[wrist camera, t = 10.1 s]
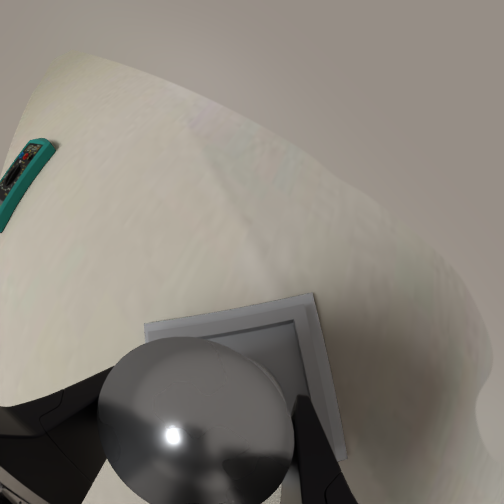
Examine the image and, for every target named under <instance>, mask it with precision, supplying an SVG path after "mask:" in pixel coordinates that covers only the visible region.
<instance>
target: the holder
mask: <svg viewBox="0 0 504 504" xmlns="http://www.w3.org/2000/svg"><path fill="white" fill-rule="evenodd" d="M144 331H145V342H146V343H148V342H150V341H154V340H158V339H161V338H168V337H194V338H202V339H206V340H209V341H213V342H216V343H219V344H222V345H224V346H227V347H229V348H231V349H233V350H235V351H237V352H238V353H240V354H242V355H244V356H246V357H248V358H250V359H252V360H254V361H256V362H257V363H259V364H261V365H263V366H264V367H266V368H267V369H268V370H269V371H271V372H272V374H273V375H274V376H275V377H276V379H277V380H278V382H279V384H280V386H281V389H282V392H283V395H284V398H285V401H286V404H287V407H288V410H289V413H290V416H291V413H292V409H293V405H294V402H295V399H296V396H297V395H298V394H302V395H308V396H309V397H310V399H311V401H312V404H313V406H314V408H315V411H316V413H317V415H318V418H319V420H320V422H321V425H322V427H323V429H324V432H325V434H326V436H327V439H328V441H329V443H330V446H331V448H332V450H333V452H334V455H335V457H336V459H337V462H338V461H342V460H345V459H348V458H347V451H346V446H345V440H344V434H343V429H342V423H341V418H340V413H339V408H338V402H337V398H336V393H335V388H334V383H333V378H332V374H331V369H330V364H329V360H328V355H327V351H326V347H325V342H324V338H323V334H322V330H321V326H320V321H319V317H318V313H317V309H316V305H315V301H314V297H313V294H312V293H308V294H303V295H299V296H294V297H290V298H285V299H280V300H276V301H271V302H266V303H261V304H256V305H251V306H246V307H241V308H235V309H230V310H225V311H219V312H213V313H208V314H202V315H196V316H190V317H184V318H178V319H171V320H165V321H158V322H151V323H144Z"/></svg>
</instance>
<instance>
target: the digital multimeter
mask: <svg viewBox="0 0 504 504" xmlns="http://www.w3.org/2000/svg"><path fill="white" fill-rule="evenodd" d="M55 151H56V150H55V148H54V147H53V146H52V144H51V143H50V142H49V141H48V140H47V139H45V138H38V139H34V140H30V141H29V142H28V143H27V144H26V146H25V147H24V148H23V150H22V151H21V152H20V154H19V155H18V156H17V158H16V159H15V160H14V162H13V163H12V165H11V166H10V168H9V169H8V170H7V172H6V173H5V175H4V176H3V178H2V179H1V181H0V233H1V232H2V231H3V230H4V228H5V226H6V224H7V222H8V220H9V219H10V217H11V215H12V213H13V211H14V210H15V208H16V206H17V204H18V203H19V201H20V200H21V198H22V196H23V195H24V193H25V192H26V190H27V189H28V187H29V186H30V184H31V183H32V181H33V180H34V179H35V177H36V176H37V175H38V173H39V172H40V170H41V169H42V168H43V166H44V165H45V164H46V163H47V161H48V160H49V159H50V158H51V156H52V155H53V154H54V153H55Z"/></svg>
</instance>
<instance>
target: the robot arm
mask: <svg viewBox="0 0 504 504" xmlns="http://www.w3.org/2000/svg"><path fill="white" fill-rule="evenodd" d="M113 367H114V366H113ZM113 367H110V368H108V369H106V370H104V371H102V372H100V373H98V374H96V375H93V376H91V377H89V378H87V379H85V380H83V381H80V382H78V383H76V384H74V385H71V386H69V387H67V388H65V389H62V390H60V391H58V392H55V393H53V394H50V395H48V396H45V397H42V398H39V399H36V400H33V401H30V402H26V403H23V404H19V405H16V406H11V407H1V406H0V504H82V502H83V500H84V498H85V497H86V495H87V493H88V491H89V489H90V488H91V486H92V484H93V482H94V480H95V478H96V477H97V475H98V473H99V471H100V470H101V468H102V466H103V464H104V463H105V461H106V459H107V457H106V455H105V452H104V450H103V447H102V444H101V441H100V438H99V433H98V427H97V406H98V400H99V395H100V392H101V389H102V386H103V384H104V382H105V380H106V378H107V376H108V374H109V373H110V371H111V370H112V369H113ZM291 420H292V425H293V430H294V450H293V457H292V460H291V464H290V467H289V470H288V472H287V474H286V476H285V478H284V480H283V481H282V490H281V501H280V504H358V503H357V501H356V499H355V497H354V496H353V494H352V492H351V490H350V488H349V486H348V484H347V482H346V480H345V478H344V475H343V473H342V472H341V469H340V466H339V464H338V462H337V459H336V457H335V455H334V452H333V450H332V448H331V446H330V443H329V441H328V439H327V436H326V434H325V432H324V429H323V427H322V425H321V422H320V420H319V418H318V415H317V413H316V411H315V408H314V406H313V404H312V401H311V399H310V397H309V396H308V395H302V394H298V395H297V396H296V399H295V402H294V405H293V409H292V413H291Z"/></svg>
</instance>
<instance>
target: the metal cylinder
mask: <svg viewBox="0 0 504 504" xmlns="http://www.w3.org/2000/svg"><path fill="white" fill-rule="evenodd" d="M97 427H98V433H99V438H100V441H101V444H102V447H103V450H104V452H105V455H106V457H107V459H108V461H109V463H110V464H111V466H112V468H113V469H114V471H115V472H116V473H117V475H118V476H119V477H120V479H121V480H122V481H123V482H124V483H125V484H126V485H127V486H128V487H129V488H130V489H131V490H132V491H133V492H135V493H136V494H137V495H138V496H139V497H141V498H142V499H144V500H145V501H147V502H148V503H150V504H261V503H262V502H264V501H265V500H266V499H268V498H269V497H270V496H271V495H272V494H273V493H274V492H275V491H276V490H277V488H278V487H279V485H280V484H281V483H282V481H283V480H284V478H285V476H286V474H287V472H288V470H289V467H290V464H291V460H292V457H293V450H294V430H293V425H292V420H291V416H290V413H289V410H288V407H287V404H286V401H285V398H284V395H283V392H282V389H281V386H280V384H279V382H278V380H277V379H276V377H275V376H274V375H273V374H272V372H271V371H269V370H268V369H267V368H266V367H264V366H263V365H261V364H259V363H257V362H256V361H254V360H252V359H250V358H248V357H246V356H244V355H242V354H240V353H238V352H237V351H235V350H233V349H231V348H229V347H227V346H224V345H222V344H219V343H216V342H213V341H209V340H206V339H202V338H194V337H168V338H161V339H158V340H154V341H150V342H148V343H145V344H143V345H141V346H139V347H137V348H135V349H134V350H132V351H130V352H129V353H128V354H126V355H125V356H124V357H123V358H122V359H121V360H120V361H119V362H118V363H117V364H116V365H115V366H114V367H113V369H112V370H111V371H110V373H109V374H108V376H107V378H106V380H105V382H104V384H103V386H102V389H101V392H100V395H99V400H98V406H97Z"/></svg>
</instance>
